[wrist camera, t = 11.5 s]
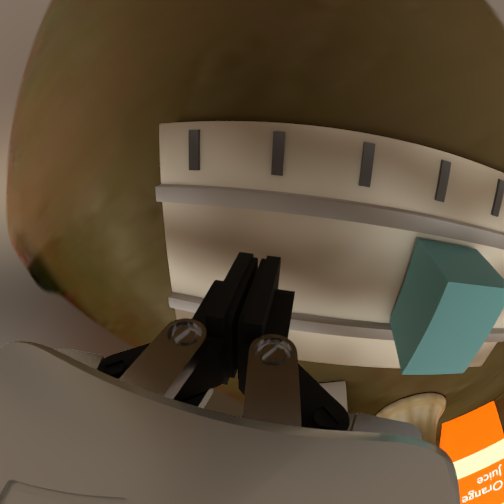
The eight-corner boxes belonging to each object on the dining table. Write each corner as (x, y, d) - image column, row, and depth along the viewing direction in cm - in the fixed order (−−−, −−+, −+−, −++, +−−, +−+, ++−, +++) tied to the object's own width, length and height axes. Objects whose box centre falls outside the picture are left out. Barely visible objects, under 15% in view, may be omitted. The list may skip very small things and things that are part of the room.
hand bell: (367, 434, 24) (359, 556, 10) (380, 398, 20) (377, 558, 6) (432, 424, 22) (439, 539, 8) (456, 385, 18) (479, 528, 4)
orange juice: (494, 399, 18) (516, 533, 1) (484, 426, 21) (496, 536, 3) (440, 424, 21) (446, 564, 4) (438, 445, 24) (440, 559, 6)
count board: (177, 122, 14) (153, 124, 12) (538, 189, 10) (560, 201, 7) (190, 319, 20) (176, 342, 18) (473, 349, 16) (483, 371, 14)
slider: (417, 238, 11) (448, 281, 8) (476, 248, 11) (512, 289, 7) (389, 321, 14) (401, 374, 10) (444, 324, 13) (463, 372, 10)
